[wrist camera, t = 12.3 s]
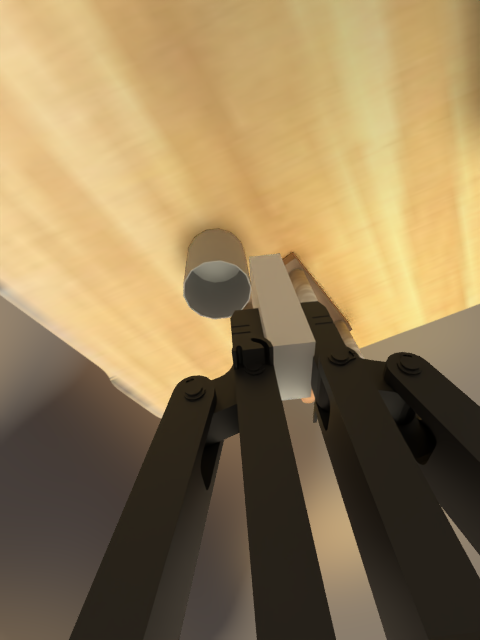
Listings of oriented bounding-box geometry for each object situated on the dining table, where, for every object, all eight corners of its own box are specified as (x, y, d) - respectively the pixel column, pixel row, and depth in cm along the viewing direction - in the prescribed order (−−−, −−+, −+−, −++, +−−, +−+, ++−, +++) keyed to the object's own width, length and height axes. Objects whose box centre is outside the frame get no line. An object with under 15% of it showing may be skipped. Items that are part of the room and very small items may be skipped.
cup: (178, 239, 45) (171, 273, 37) (233, 220, 44) (238, 250, 36) (201, 287, 50) (199, 326, 42) (251, 271, 49) (258, 308, 41)
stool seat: (292, 251, 47) (311, 290, 38) (348, 322, 56) (373, 366, 47) (230, 298, 51) (234, 342, 43) (291, 357, 60) (305, 404, 52)
